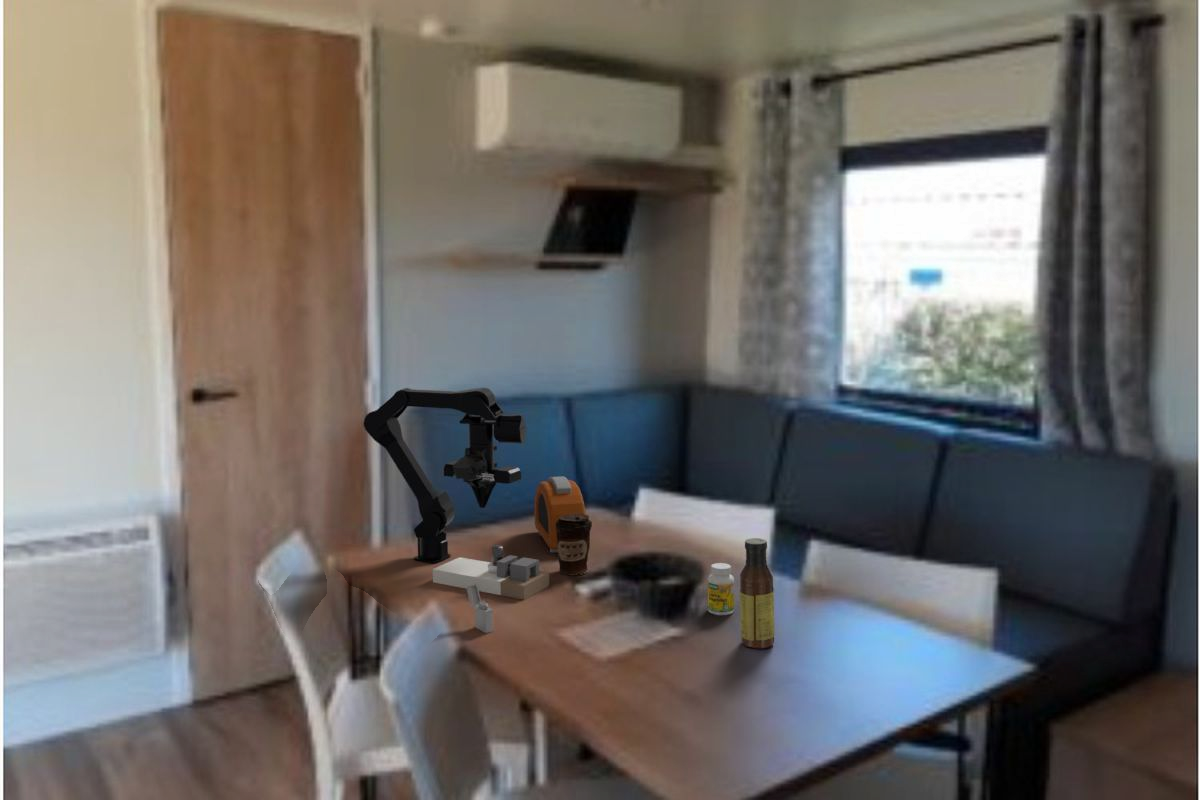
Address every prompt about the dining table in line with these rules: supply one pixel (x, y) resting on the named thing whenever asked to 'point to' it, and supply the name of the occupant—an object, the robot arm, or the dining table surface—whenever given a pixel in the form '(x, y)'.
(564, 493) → the orange tape measure
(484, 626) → the lighter
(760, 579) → the sauce bottle
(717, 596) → the supplement bottle
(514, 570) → the door lock board
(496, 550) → the bolt
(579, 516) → the coffee cup
